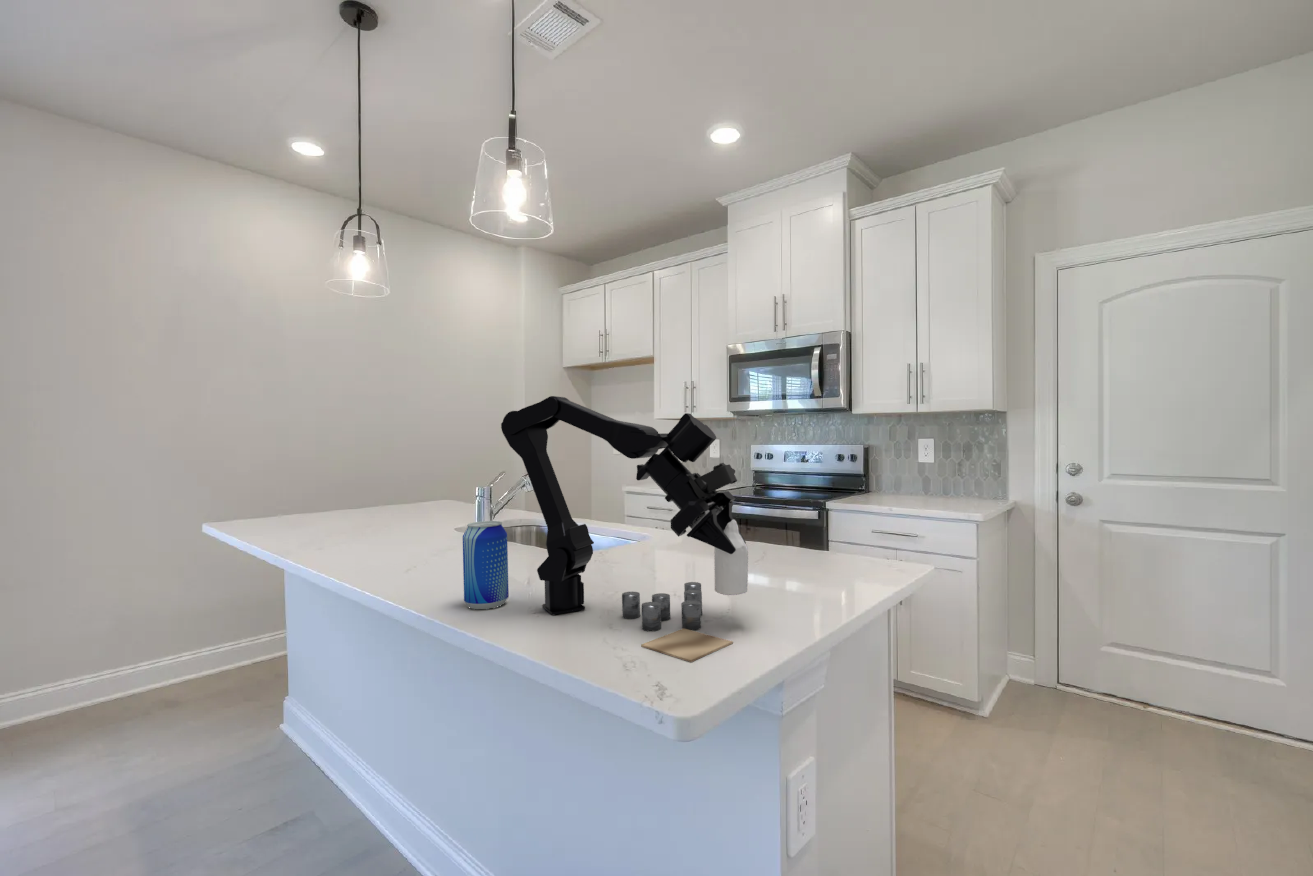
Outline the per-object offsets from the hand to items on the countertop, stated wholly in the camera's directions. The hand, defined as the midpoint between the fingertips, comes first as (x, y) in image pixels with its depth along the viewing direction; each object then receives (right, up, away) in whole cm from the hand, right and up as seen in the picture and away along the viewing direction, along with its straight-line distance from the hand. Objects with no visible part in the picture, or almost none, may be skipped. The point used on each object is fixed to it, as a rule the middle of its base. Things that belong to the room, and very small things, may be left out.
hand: (739, 548), depth 99 cm
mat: (-9, -13, -7) cm, 18 cm away
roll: (-1, -7, +1) cm, 7 cm away
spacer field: (-10, -13, +6) cm, 18 cm away
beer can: (-47, -15, +18) cm, 52 cm away
